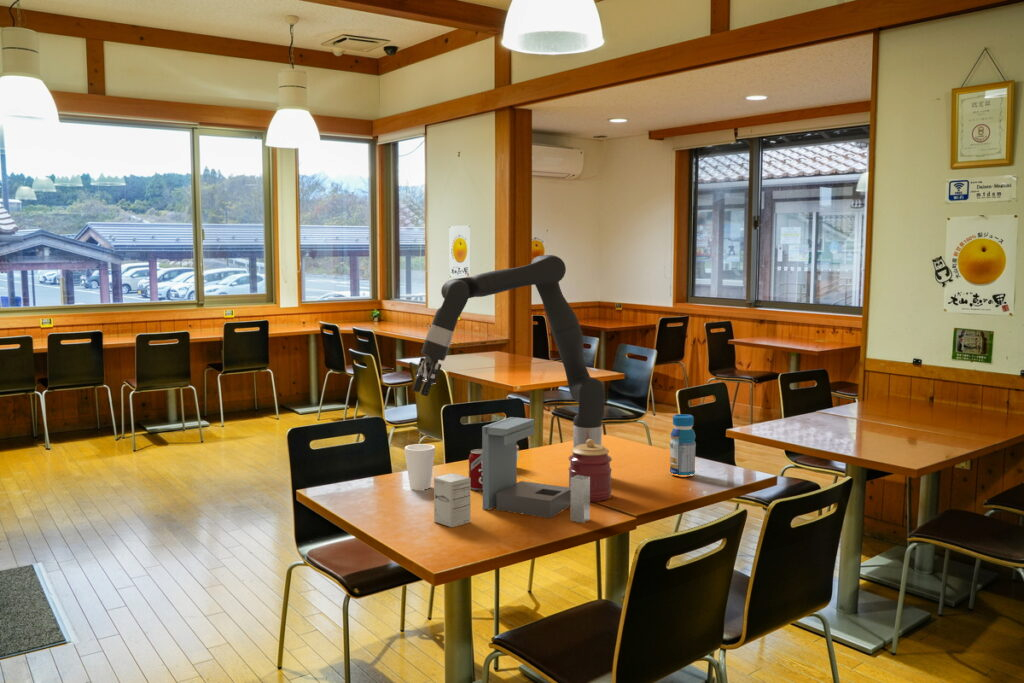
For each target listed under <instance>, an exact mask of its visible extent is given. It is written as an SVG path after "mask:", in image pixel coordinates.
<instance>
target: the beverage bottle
mask: <svg viewBox="0 0 1024 683" xmlns="http://www.w3.org/2000/svg"><path fill="white" fill-rule="evenodd" d="M694 420H695V418H694V416H693V415H692V414H684V413H681V414H680V413H679V414H678V413H676V414H674V415H673V417H672V426H673V429H672V430H671V431H670V435H669V436H670V438H671V439H670V442H669V447H670V449H669V450H670V452H669V453H670V457H669V458H670V459H669V461H670V462H669V465H670V467H669V473H670V472H671V473H673V474H678V475H690V474H694V473H695V472H696V447H697V443H696V441H695V440H696V433H695V429H693V426H695V425H694V424H695V421H694ZM695 474H696V473H695Z"/></svg>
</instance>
